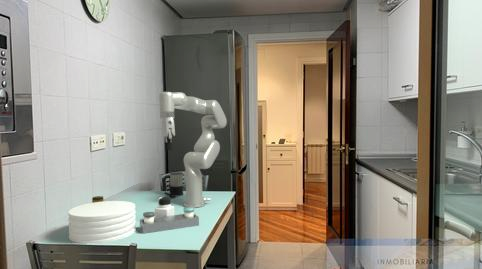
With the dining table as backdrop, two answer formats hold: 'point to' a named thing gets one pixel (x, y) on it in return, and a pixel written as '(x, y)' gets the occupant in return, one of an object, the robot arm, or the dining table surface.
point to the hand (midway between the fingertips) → (168, 149)
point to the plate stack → (102, 221)
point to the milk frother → (174, 184)
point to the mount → (168, 223)
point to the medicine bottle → (164, 207)
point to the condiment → (97, 199)
